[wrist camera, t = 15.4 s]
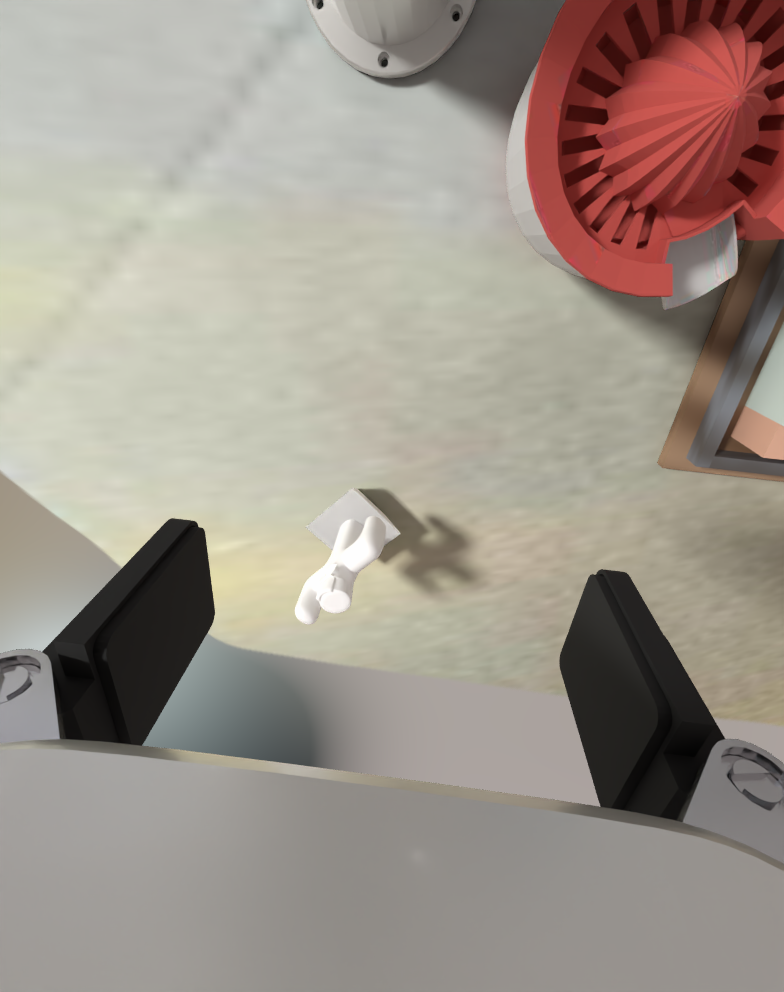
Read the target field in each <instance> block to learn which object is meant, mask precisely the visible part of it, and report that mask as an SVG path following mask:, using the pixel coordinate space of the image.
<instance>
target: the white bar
mask: <svg viewBox="0 0 784 992" xmlns="http://www.w3.org/2000/svg"><path fill="white" fill-rule="evenodd" d="M731 437H732V438H734V439H735V440H737V441H738V442H740V443H741V444H743V445H744V446H746V447H748V448H749V449H751V450H752V451H754V452H755V453H757V454H758V455H760V456H761V457H763V458H770V459H780V460H784V322H783V324H782V326H781V328H780V330H779V333H778V335H777V337H776V339H775V341H774V343H773V346H772V348H771V350H770V352H769V354H768V356H767V359H766V361H765V363H764V365H763V367H762V369H761V371H760V374H759V376H758V378H757V380H756V382H755V384H754V387H753V389H752V391H751V393H750V395H749V397H748V400H747V402H746V404H745V406H744V408H743V410H742V413H741V415H740V417H739V419H738V421H737V423H736V425H735V428H734V430H733V432H732V434H731Z"/></svg>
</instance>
